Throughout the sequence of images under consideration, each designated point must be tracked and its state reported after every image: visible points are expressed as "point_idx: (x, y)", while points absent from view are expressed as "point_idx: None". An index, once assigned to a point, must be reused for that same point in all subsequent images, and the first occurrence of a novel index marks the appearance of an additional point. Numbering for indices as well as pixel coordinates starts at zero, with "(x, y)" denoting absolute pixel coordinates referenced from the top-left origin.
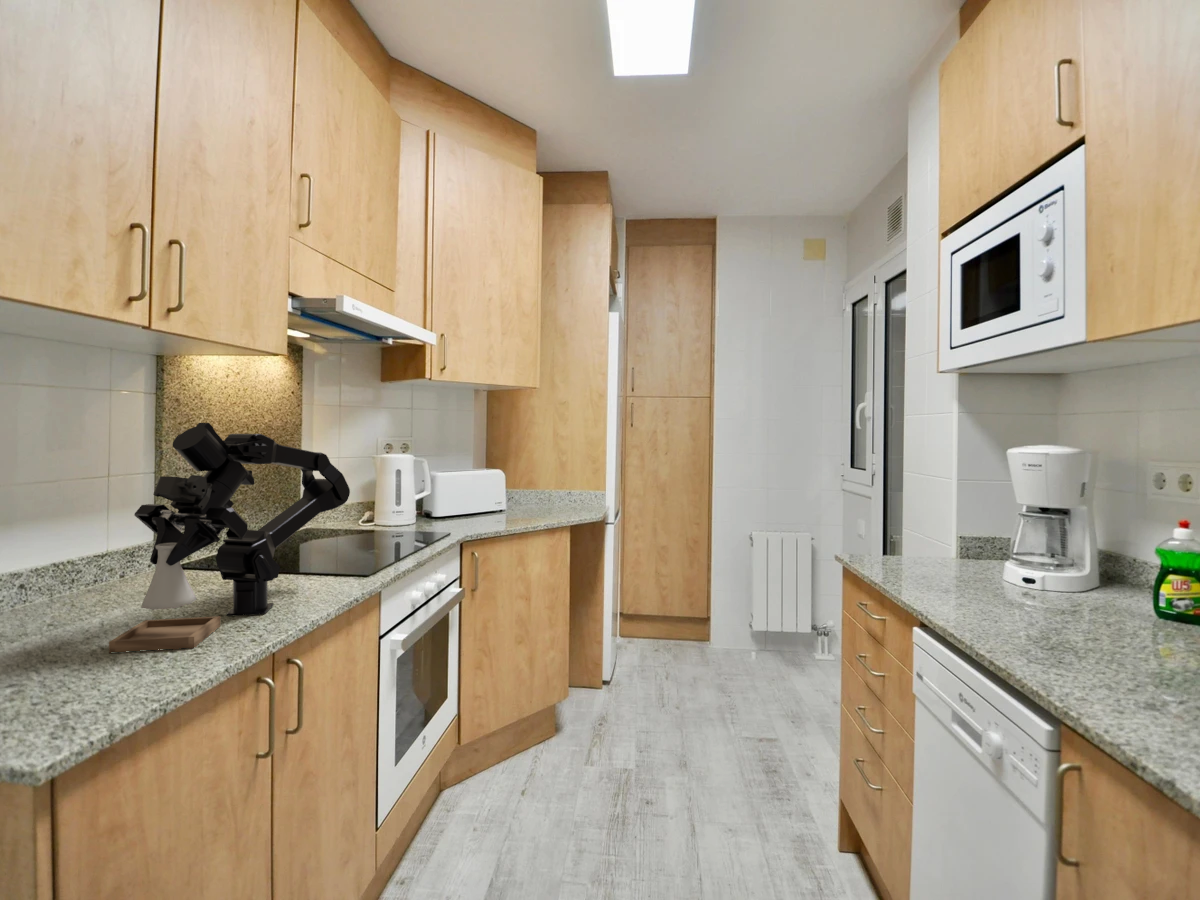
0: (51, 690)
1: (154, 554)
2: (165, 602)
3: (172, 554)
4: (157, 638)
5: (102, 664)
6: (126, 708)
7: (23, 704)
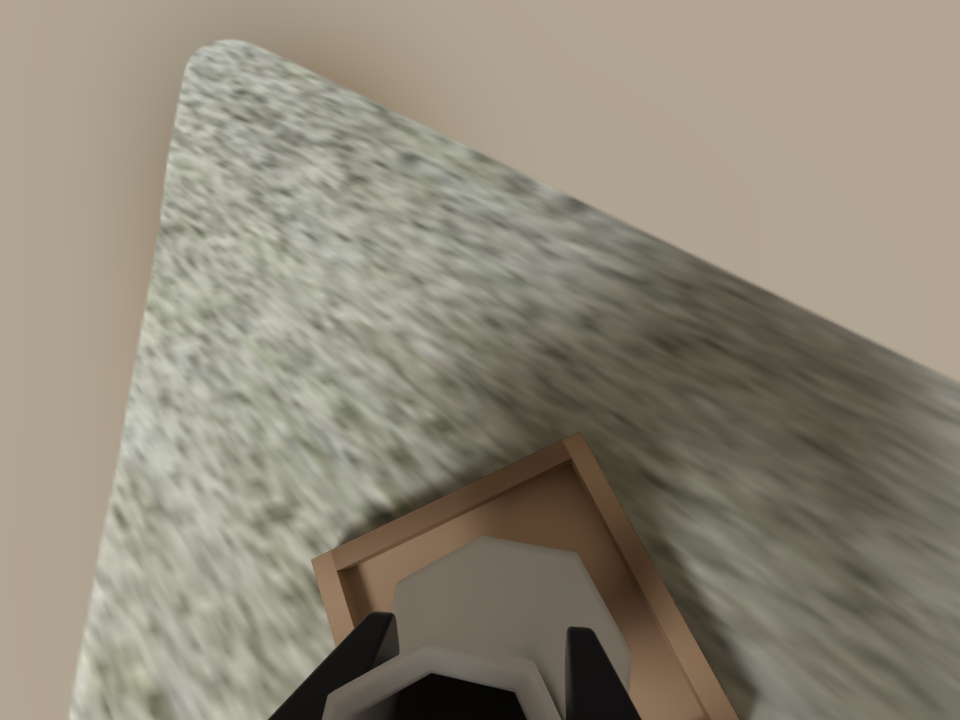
0: (450, 208)
1: (577, 677)
2: (431, 570)
3: (323, 665)
4: (434, 505)
5: (499, 361)
6: (207, 190)
7: (432, 150)
